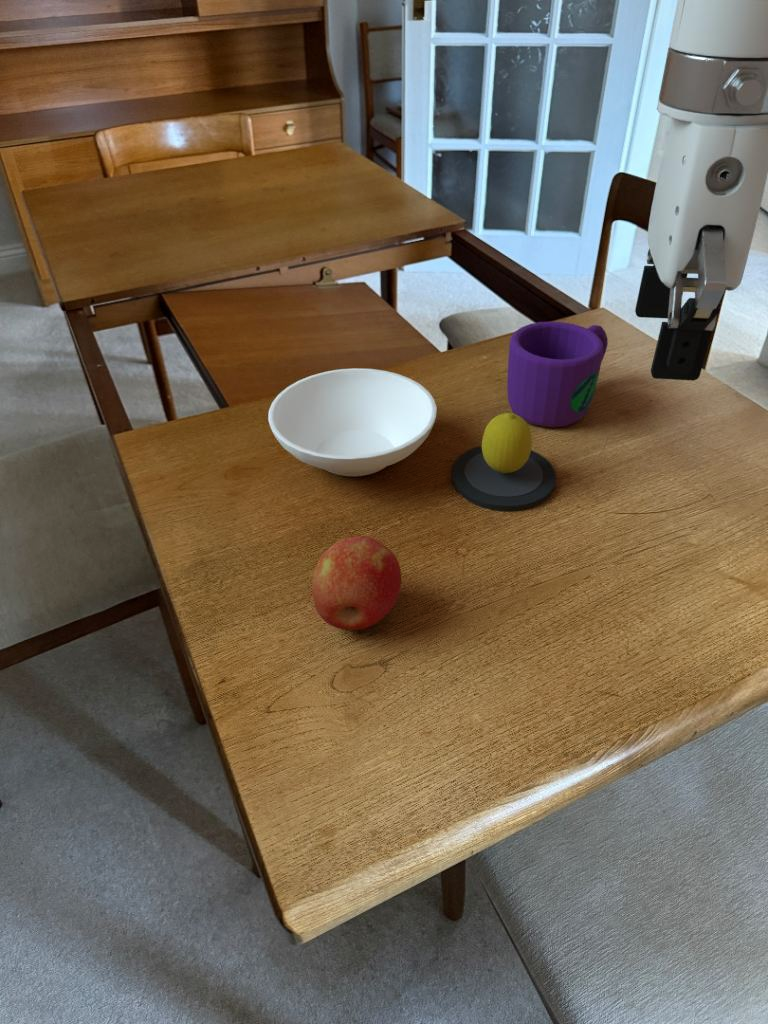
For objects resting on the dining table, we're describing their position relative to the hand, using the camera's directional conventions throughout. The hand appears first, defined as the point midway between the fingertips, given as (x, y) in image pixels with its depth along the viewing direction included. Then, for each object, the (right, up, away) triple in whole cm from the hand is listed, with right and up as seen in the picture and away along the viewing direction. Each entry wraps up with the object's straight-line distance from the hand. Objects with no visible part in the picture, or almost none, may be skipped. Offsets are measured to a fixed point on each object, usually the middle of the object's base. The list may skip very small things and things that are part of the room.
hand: (663, 344), depth 55 cm
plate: (-7, -9, +31) cm, 33 cm away
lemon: (-7, -8, +31) cm, 32 cm away
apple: (-23, -22, +15) cm, 36 cm away
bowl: (-24, -6, +35) cm, 43 cm away
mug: (+3, +2, +44) cm, 44 cm away
